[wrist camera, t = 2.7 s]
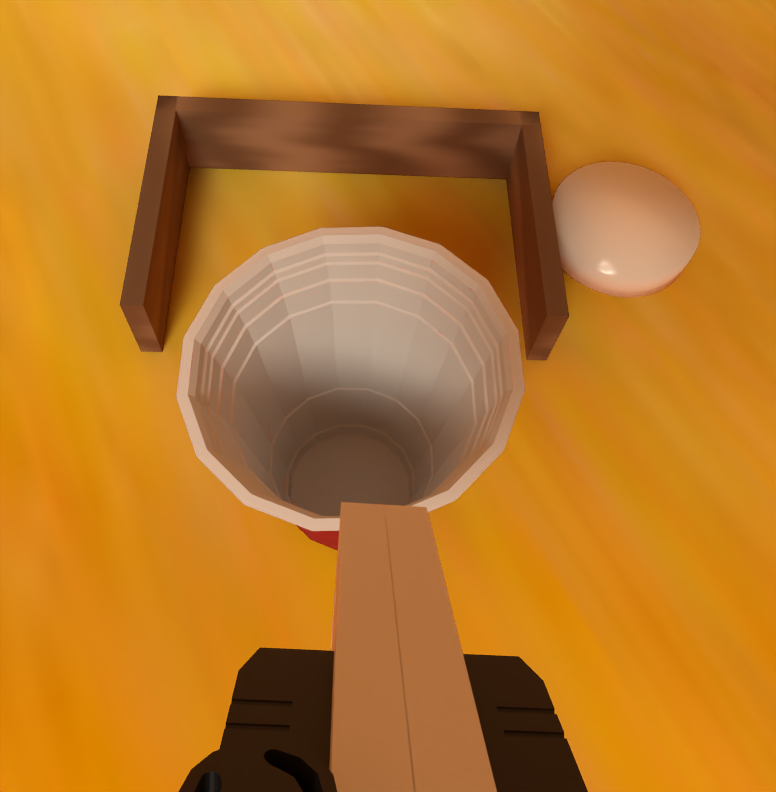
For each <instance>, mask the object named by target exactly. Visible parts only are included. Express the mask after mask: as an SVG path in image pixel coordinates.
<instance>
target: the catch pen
mask: <svg viewBox="0 0 776 792" xmlns="http://www.w3.org/2000/svg"><path fill="white" fill-rule="evenodd" d="M189 167H196V168H223V169H250V170H277V171H304V172H330V173H357V174H384V175H411V176H438V177H465V178H491V179H506V181H507V189H508V198H509V207H510V216H511V225H512V233H513V242H514V251H515V260H516V268H517V277H518V286H519V295H520V304H521V312H522V321H523V330H524V339H525V347H526V356H527V360H547V358H548V356H549V354H550V352H551V350H552V348H553V346H554V344H555V342H556V341H557V339H558V337H559V335H560V333H561V331H562V329H563V327H564V325H565V323H566V321H567V319H568V317H569V313H568V306H567V299H566V293H565V286H564V279H563V272H562V266H561V259H560V252H559V245H558V239H557V232H556V225H555V219H554V212H553V205H552V198H551V192H550V185H549V178H548V171H547V165H546V158H545V151H544V145H543V138H542V131H541V124H540V118H539V112H527V111H504V110H481V109H458V108H435V107H412V106H389V105H366V104H342V103H319V102H296V101H273V100H250V99H227V98H204V97H181V96H158V100H157V106H156V111H155V116H154V122H153V127H152V133H151V138H150V144H149V149H148V154H147V160H146V165H145V171H144V176H143V182H142V187H141V192H140V198H139V203H138V209H137V214H136V220H135V225H134V230H133V236H132V241H131V247H130V252H129V258H128V263H127V268H126V274H125V279H124V285H123V290H122V296H121V301H120V306H121V308H122V310H123V313H124V315H125V317H126V319H127V321H128V324H129V326H130V328H131V330H132V332H133V335H134V337H135V339H136V341H137V343H138V346H139V348H140V350H141V351H151V352H162V349H163V342H164V335H165V329H166V322H167V315H168V308H169V301H170V295H171V288H172V281H173V274H174V268H175V261H176V254H177V247H178V240H179V234H180V227H181V220H182V213H183V207H184V200H185V193H186V186H187V180H188V173H189Z"/></svg>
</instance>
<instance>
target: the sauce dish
mask: <svg viewBox="0 0 776 792" xmlns="http://www.w3.org/2000/svg"><path fill="white" fill-rule="evenodd" d="M552 205H553V212H554V219H555V225H556V232H557V239H558V245H559V252H560V259H561V266H562V269H563V270H564V271H565V272H566V273H567V274H568V275H569V276H571V277H572V278H573V279H575V280H576V281H577V282H579V283H580V284H582V285H584V286H586V287H588V288H590V289H592V290H595V291H597V292H600V293H604V294H607V295H612V296H617V297H641V296H647V295H650V294H654V293H656V292H659V291H661V290H663V289H665V288H666V287H668V286H669V285H670V284H672V283H673V282H674V281H675V280H676V279H677V277H678V276H679V275H680V274H681V272H682V271H683V269H684V268H685V266H686V265H687V264H688V262H689V261H690V259H691V258H692V256H693V255H694V253H695V251H696V249H697V247H698V244H699V240H700V223H699V219H698V216H697V213H696V211H695V209H694V207H693V205H692V203H691V202H690V200H689V199H688V197H687V196H686V195H685V194H684V193H683V192H682V191H681V190H680V189H679V188H678V187H677V186H676V185H675V184H674V183H672V182H671V181H670V180H668V179H667V178H665V177H664V176H662V175H660V174H658V173H656V172H654V171H652V170H650V169H647V168H645V167H642V166H638V165H635V164H630V163H625V162H599V163H594V164H590V165H587V166H584V167H581V168H579V169H577V170H575V171H574V172H572V173H571V174H569V175H568V176H567V177H566V178H565V179H564V180H563V181H562V182H561V184H560V185H559V187H558V189H557V191H556V193H555V195H554V198H553V200H552Z"/></svg>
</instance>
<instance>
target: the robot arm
mask: <svg viewBox="0 0 776 792" xmlns="http://www.w3.org/2000/svg"><path fill="white" fill-rule="evenodd" d="M179 792H588V791H587V788H586V786H585V784H584V781H583V779H582V776H581V774H580V771H579V769H578V766H577V764H576V761H575V759H574V756H573V754H572V751H571V749H570V746H569V744H568V741H567V739H564V731H563V729H562V726H561V724H560V721H559V719H558V716H557V714H555V713H554V706H553V704H552V701H551V699H550V696H549V694H548V691H547V689H546V686H545V684H544V682H543V680H542V679H541V678H540V677H539V676H538V675H537V674H536V673H535V672H534V671H533V670H532V669H531V668H530V667H529V666H528V665H527V664H526V663H525V662H524V661H523V660H522V659H521V658H520V657H517V656H495V655H473V654H463V652H462V648H461V644H460V640H459V636H458V632H457V628H456V624H455V620H454V616H453V612H452V608H451V604H450V600H449V596H448V592H447V588H446V583H445V579H444V575H443V571H442V567H441V563H440V559H439V555H438V551H437V547H436V543H435V539H434V535H433V531H432V527H431V523H430V519H429V515H428V511H427V507H417V506H400V505H383V504H365V503H348V502H341V512H340V526H339V540H338V555H337V569H336V583H335V597H334V611H333V625H332V639H331V651H323V650H301V649H279V648H259V649H258V650H257V651H256V653H255V654H254V655H253V656H252V657H251V658H250V659H249V660H248V661H247V662H246V663H245V664H244V665H243V667H242V668H241V669H240V670H239V671H238V676H237V680H236V684H235V688H234V692H233V696H232V702H231V704H230V708H229V712H228V717H227V721H226V728H225V729H224V733H223V737H222V741H221V745H220V749H219V750H217V751H214V752H212V753H211V754H210V755H208V756H207V757H206V758H205V759H204V760H202V761H201V762H200V763H199V764H197V765H196V766H195V767H194V768H192V769H191V771H190V772H189V774H188V776H187V778H186V780H185V781H184V783H183V785H182V787H181V789H180V790H179Z"/></svg>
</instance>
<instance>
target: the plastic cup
mask: <svg viewBox="0 0 776 792" xmlns="http://www.w3.org/2000/svg"><path fill="white" fill-rule="evenodd" d="M524 391H525V386H524V377H523V368H522V359H521V350H520V341H519V332H518V329H517V327H516V326H515V324H514V322H513V321H512V319H511V317H510V316H509V314H508V312H507V311H506V309H505V307H504V306H503V304H502V302H501V301H500V299H499V297H498V296H497V294H496V293H495V291H494V289H493V288H492V286H491V284H490V283H489V281H488V280H487V279H486V278H485V277H483V276H482V275H481V274H479V273H478V272H477V271H475V270H474V269H473V268H471V267H470V266H469V265H467V264H466V263H465V262H463V261H462V260H461V259H459V258H458V257H457V256H455V255H454V254H453V253H451V252H450V251H449V250H447V249H446V248H445V247H443V246H442V245H441V244H437V243H434V242H431V241H428V240H424V239H421V238H418V237H415V236H411V235H408V234H405V233H402V232H398V231H395V230H392V229H388V228H385V227H341V228H319V229H316V230H313V231H310V232H308V233H305V234H302V235H299V236H296V237H293V238H290V239H287V240H285V241H282V242H279V243H276V244H273V245H270V246H267V247H264V248H262V249H261V250H259V251H258V252H257V253H256V254H254V255H253V256H252V257H251V258H249V259H248V260H247V261H245V262H244V263H243V264H242V265H240V266H239V267H238V268H237V269H235V270H234V271H233V272H231V273H230V274H229V275H228V276H226V277H225V278H224V279H223V280H221V281H220V282H219V283H217V284H216V285H215V286H214V287H213V289H212V291H211V292H210V294H209V296H208V297H207V299H206V301H205V302H204V304H203V306H202V308H201V309H200V311H199V313H198V314H197V316H196V318H195V319H194V321H193V323H192V324H191V326H190V328H189V329H188V331H187V333H186V334H185V336H184V338H183V346H182V355H181V363H180V371H179V379H178V388H177V396H176V398H177V401H178V404H179V407H180V410H181V413H182V415H183V418H184V421H185V424H186V427H187V430H188V433H189V436H190V439H191V442H192V445H193V448H194V451H195V453H196V456H197V458H198V459H199V460H200V461H201V462H202V463H203V464H204V465H205V466H206V467H207V468H208V469H209V470H210V471H211V472H212V473H213V474H214V475H215V476H216V477H217V478H218V479H219V480H220V481H221V482H222V483H223V484H224V485H225V486H226V487H227V488H228V489H229V490H230V491H231V492H232V493H233V494H234V495H235V496H236V497H237V498H238V499H239V500H240V501H241V502H242V503H243V504H244V505H246V506H249V507H251V508H254V509H257V510H259V511H262V512H264V513H267V514H269V515H272V516H275V517H277V518H280V519H282V520H285V521H287V522H290V523H293V524H295V525H296V526H297V527H298V528H299V529H300V530H301V531H303V532H304V533H305V534H306V535H307V536H308V537H309V538H310V539H311V540H313V541H316V542H318V543H321V544H323V545H325V546H328V547H330V548H333V549H335V550H338V540H339V526H340V512H341V502H348V503H365V504H383V505H400V506H417V507H427V511H428V512H430V511H432V510H434V509H437V508H439V507H441V506H444V505H446V504H448V503H451V502H453V501H455V500H457V499H458V497H459V496H460V495H461V494H462V493H463V492H464V491H465V490H466V489H467V488H468V487H469V486H470V485H471V484H472V483H473V482H474V481H475V480H476V479H477V478H478V477H479V476H480V475H481V474H482V472H483V471H484V470H485V469H486V468H487V467H488V466H489V465H490V464H491V463H492V462H493V461H494V460H495V459H496V458H497V457H498V456H499V455H500V454H501V453H502V452H503V451H504V449H505V446H506V443H507V440H508V437H509V434H510V431H511V429H512V426H513V423H514V420H515V417H516V414H517V411H518V408H519V406H520V403H521V400H522V397H523V394H524Z"/></svg>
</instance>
